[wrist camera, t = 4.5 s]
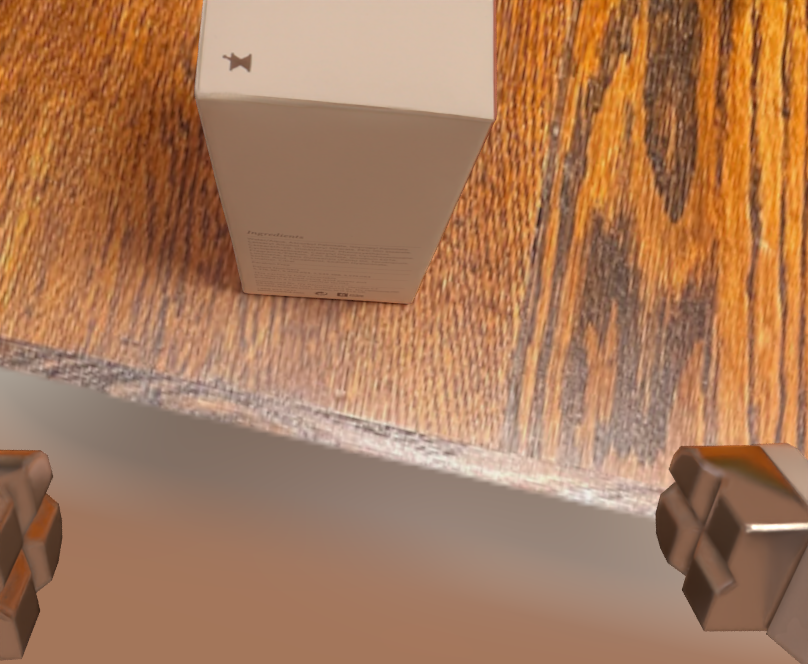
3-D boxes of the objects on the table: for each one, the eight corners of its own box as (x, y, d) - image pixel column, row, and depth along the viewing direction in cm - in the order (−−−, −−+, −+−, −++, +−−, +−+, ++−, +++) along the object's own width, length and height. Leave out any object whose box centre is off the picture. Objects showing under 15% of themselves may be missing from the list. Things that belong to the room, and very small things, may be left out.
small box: (414, 307, 28) (501, 126, 15) (240, 296, 27) (183, 97, 15) (419, 112, 30) (499, -186, 18) (257, 98, 29) (221, -224, 17)
